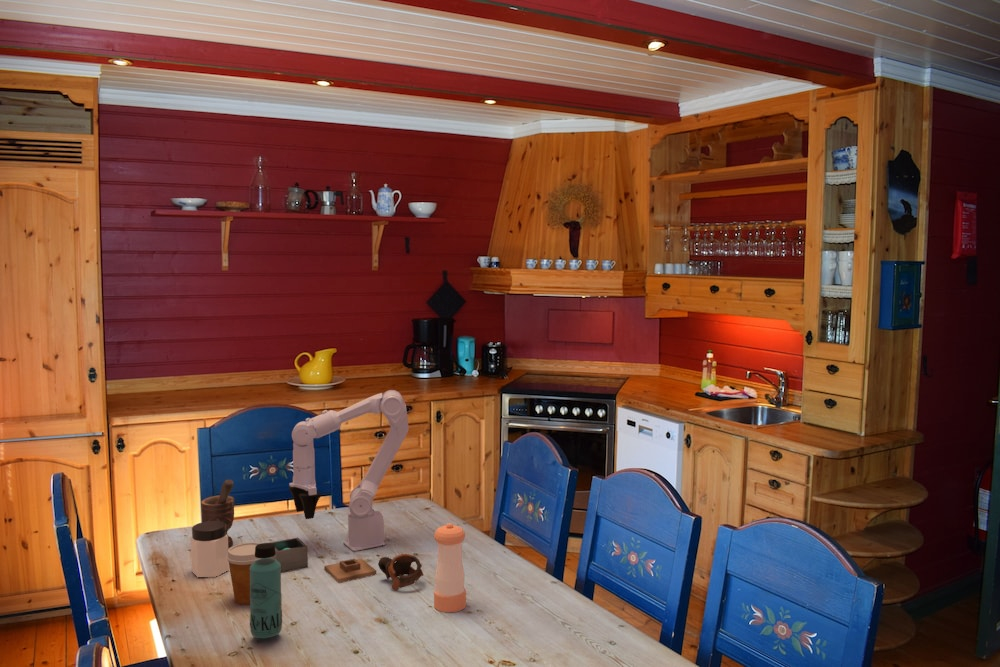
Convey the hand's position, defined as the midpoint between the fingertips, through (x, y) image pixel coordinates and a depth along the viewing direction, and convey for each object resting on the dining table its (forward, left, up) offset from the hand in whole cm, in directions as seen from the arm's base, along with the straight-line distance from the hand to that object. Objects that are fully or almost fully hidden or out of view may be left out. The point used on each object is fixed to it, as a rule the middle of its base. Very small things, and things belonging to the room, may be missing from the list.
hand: (304, 514), depth 216 cm
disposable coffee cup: (+22, +26, -10) cm, 35 cm away
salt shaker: (-16, +54, -10) cm, 57 cm away
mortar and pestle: (+19, -13, -10) cm, 25 cm away
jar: (+26, +4, -10) cm, 28 cm away
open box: (+8, +10, -9) cm, 16 cm away
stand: (-4, +23, -9) cm, 25 cm away
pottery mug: (-12, +36, -10) cm, 39 cm away
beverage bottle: (+24, +48, -10) cm, 55 cm away
